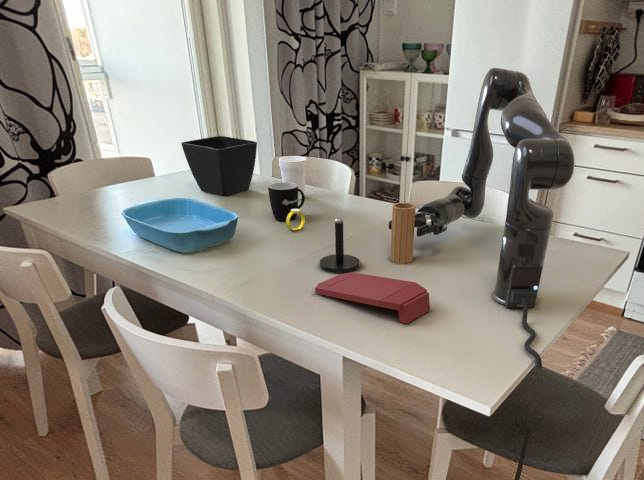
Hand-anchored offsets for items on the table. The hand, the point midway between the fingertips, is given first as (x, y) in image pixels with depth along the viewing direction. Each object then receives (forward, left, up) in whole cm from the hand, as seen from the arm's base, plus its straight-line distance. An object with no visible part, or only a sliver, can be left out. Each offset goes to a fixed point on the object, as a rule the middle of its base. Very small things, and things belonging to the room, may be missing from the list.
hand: (403, 229), depth 131 cm
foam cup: (+60, +32, -8) cm, 68 cm away
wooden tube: (0, 0, -8) cm, 8 cm away
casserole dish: (+18, +61, -8) cm, 64 cm away
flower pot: (+69, +58, -8) cm, 91 cm away
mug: (+36, +32, -8) cm, 49 cm away
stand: (-4, +16, -8) cm, 19 cm away
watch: (+24, +29, -8) cm, 39 cm away
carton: (-24, +9, -8) cm, 27 cm away
